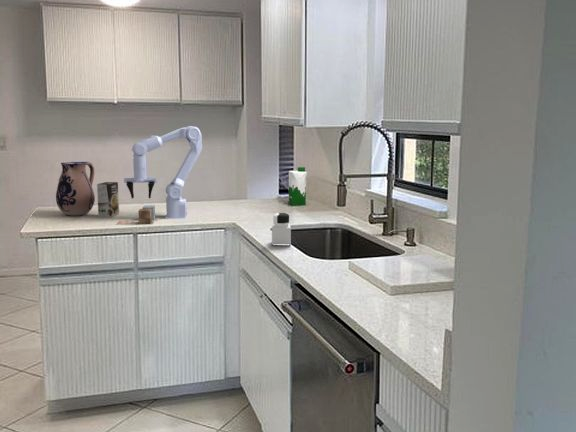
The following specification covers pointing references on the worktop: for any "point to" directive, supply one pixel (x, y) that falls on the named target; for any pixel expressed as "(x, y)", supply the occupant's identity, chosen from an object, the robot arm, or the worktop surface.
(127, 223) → the code tile
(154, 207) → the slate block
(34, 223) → the worktop surface
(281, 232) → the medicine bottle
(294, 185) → the milk carton
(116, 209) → the coffee box
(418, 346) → the worktop surface
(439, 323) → the worktop surface
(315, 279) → the worktop surface
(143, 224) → the rubber pad
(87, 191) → the ceramic pitcher
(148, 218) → the walnut block
